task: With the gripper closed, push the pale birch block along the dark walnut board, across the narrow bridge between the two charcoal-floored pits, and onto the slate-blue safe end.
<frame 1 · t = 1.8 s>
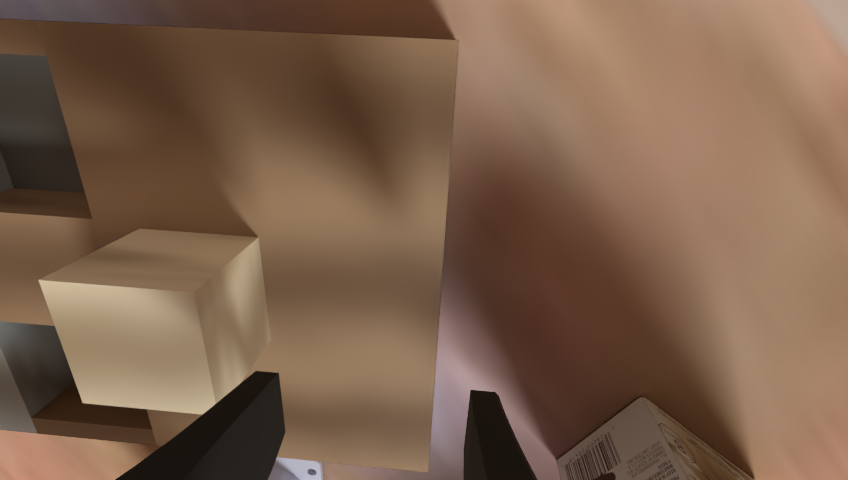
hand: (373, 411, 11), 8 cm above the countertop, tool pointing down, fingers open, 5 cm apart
coffee box: (652, 466, 22), on the countertop
block: (208, 286, 16), point 3 cm above the countertop, touching trap board
trap board: (118, 244, 19), on the countertop
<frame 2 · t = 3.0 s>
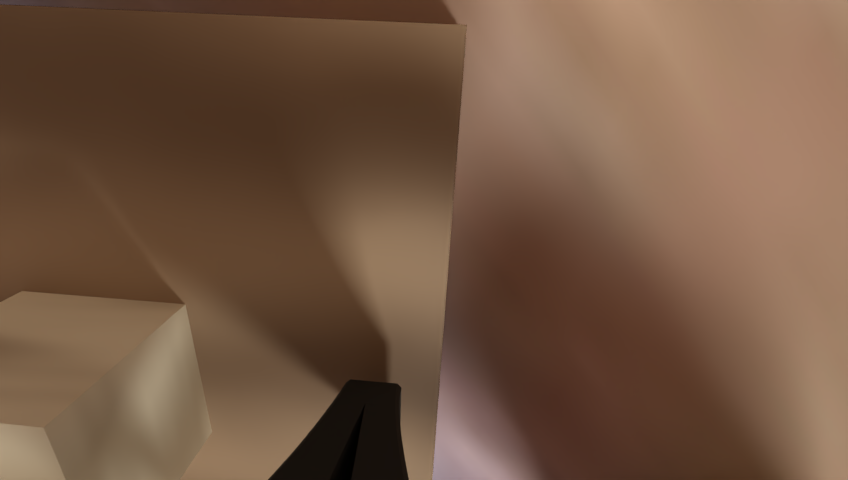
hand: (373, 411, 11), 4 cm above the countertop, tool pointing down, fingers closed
block: (123, 366, 12), point 3 cm above the countertop, touching trap board
trap board: (25, 295, 15), on the countertop
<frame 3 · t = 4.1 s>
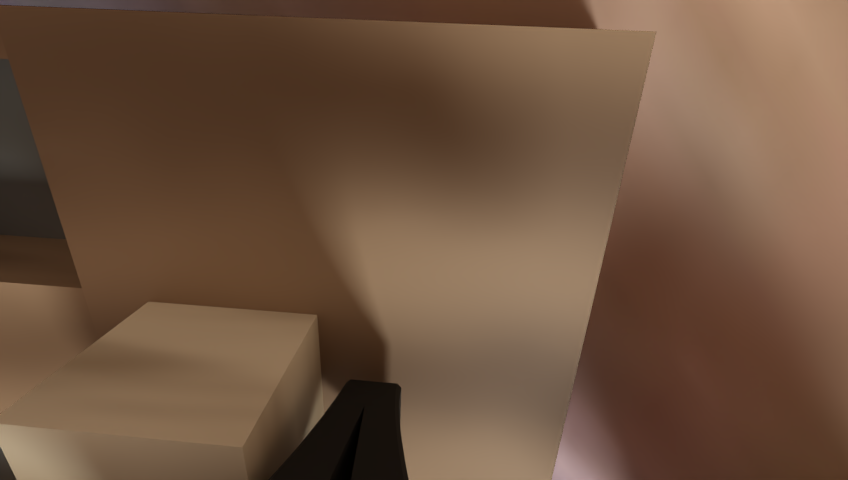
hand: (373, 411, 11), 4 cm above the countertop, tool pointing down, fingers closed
block: (243, 376, 12), point 3 cm above the countertop, touching gripper, trap board
trap board: (118, 304, 15), on the countertop
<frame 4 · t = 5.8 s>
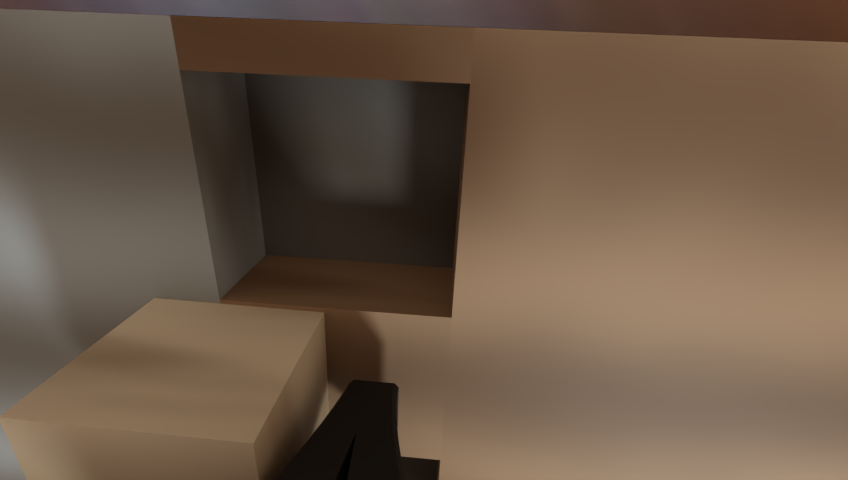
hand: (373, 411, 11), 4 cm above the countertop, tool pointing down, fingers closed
block: (248, 374, 12), point 3 cm above the countertop, touching gripper
trap board: (389, 326, 14), on the countertop
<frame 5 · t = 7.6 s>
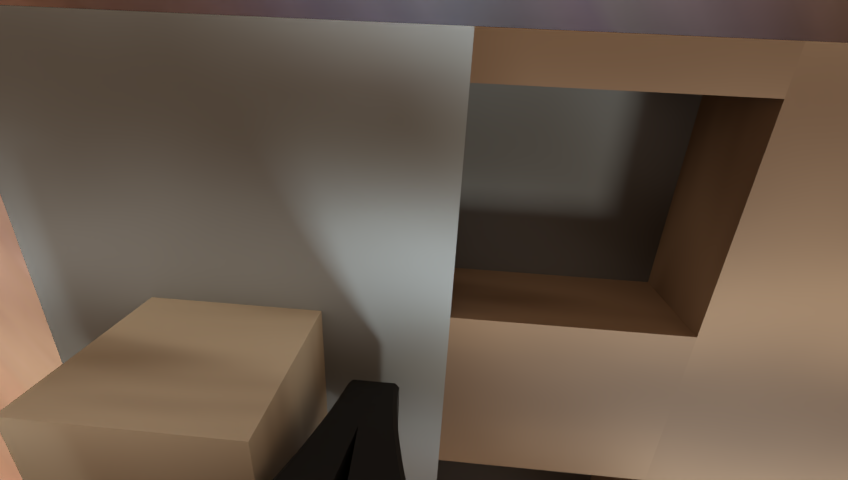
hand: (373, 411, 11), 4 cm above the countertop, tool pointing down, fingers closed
block: (246, 373, 12), point 3 cm above the countertop, touching gripper, trap board
trap board: (565, 340, 14), on the countertop
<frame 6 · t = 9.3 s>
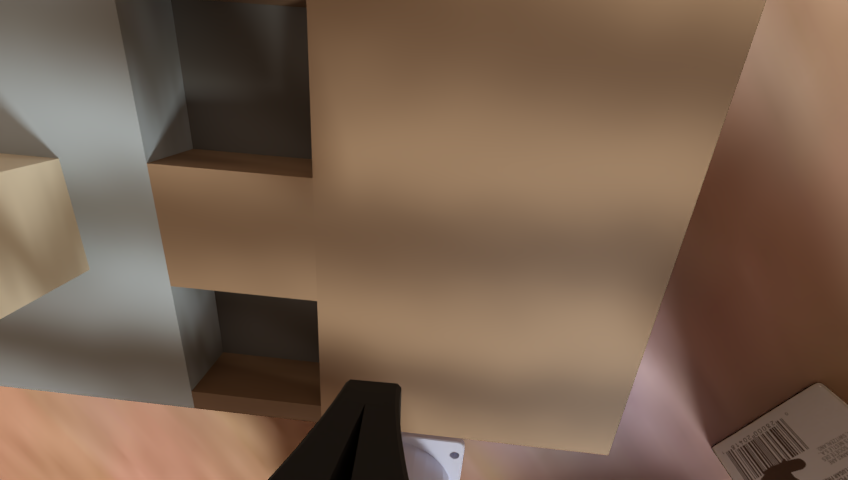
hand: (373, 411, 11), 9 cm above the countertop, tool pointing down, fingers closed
coffee box: (809, 455, 22), on the countertop
block: (18, 211, 16), point 3 cm above the countertop, touching trap board
trap board: (292, 212, 18), on the countertop
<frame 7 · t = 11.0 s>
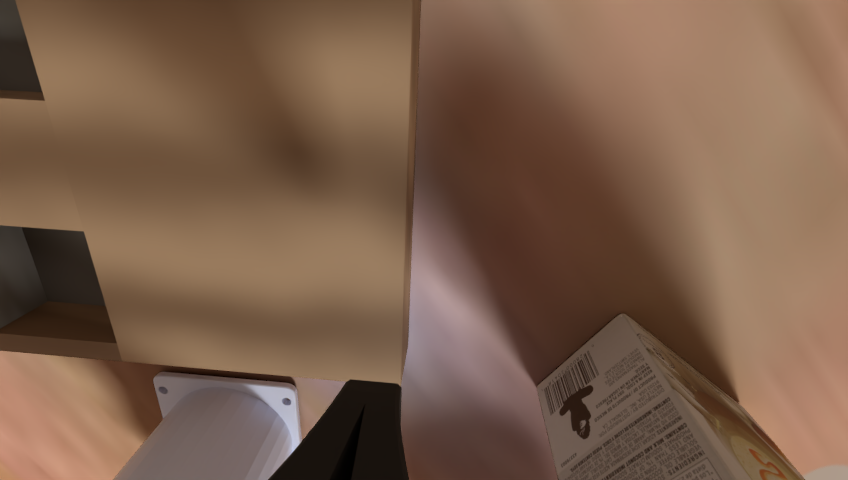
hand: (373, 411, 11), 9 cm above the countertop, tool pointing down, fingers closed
coffee box: (634, 392, 22), on the countertop
trap board: (81, 152, 18), on the countertop
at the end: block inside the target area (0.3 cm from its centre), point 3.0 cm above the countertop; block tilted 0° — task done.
